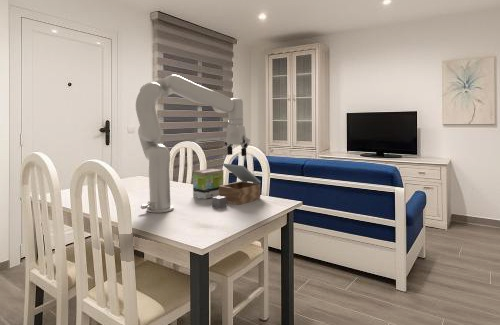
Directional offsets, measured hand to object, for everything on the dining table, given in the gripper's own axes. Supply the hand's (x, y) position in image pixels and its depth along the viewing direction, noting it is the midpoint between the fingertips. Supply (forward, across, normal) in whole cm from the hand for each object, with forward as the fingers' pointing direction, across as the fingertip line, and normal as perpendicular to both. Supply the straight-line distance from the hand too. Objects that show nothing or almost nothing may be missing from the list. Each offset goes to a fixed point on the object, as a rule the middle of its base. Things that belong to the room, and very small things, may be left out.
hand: (236, 155), depth 183 cm
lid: (+11, 0, +4) cm, 12 cm away
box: (+24, 0, +2) cm, 24 cm away
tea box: (+24, -20, -2) cm, 32 cm away
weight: (+24, +2, -16) cm, 29 cm away
